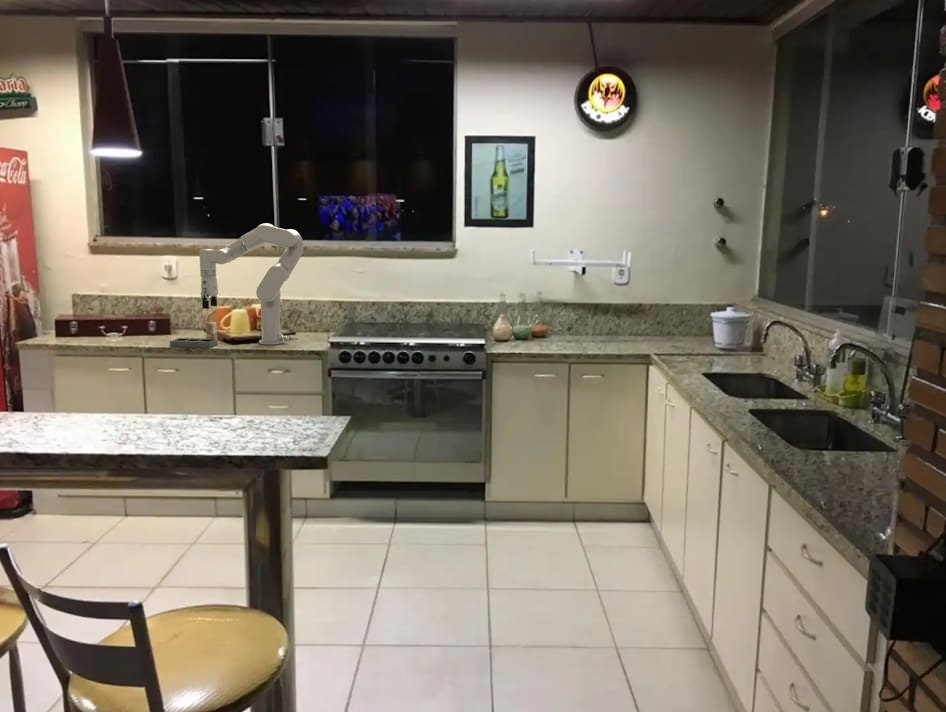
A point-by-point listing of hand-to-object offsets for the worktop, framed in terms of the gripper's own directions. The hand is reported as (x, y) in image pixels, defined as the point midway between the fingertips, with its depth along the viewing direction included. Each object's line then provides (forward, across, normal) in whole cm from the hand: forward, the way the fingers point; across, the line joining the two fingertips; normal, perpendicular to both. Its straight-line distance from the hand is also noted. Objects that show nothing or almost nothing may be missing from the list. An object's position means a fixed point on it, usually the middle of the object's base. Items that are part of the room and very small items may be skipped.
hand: (209, 307), depth 391 cm
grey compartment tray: (+18, -12, +4) cm, 22 cm away
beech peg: (+18, 0, 0) cm, 18 cm away
